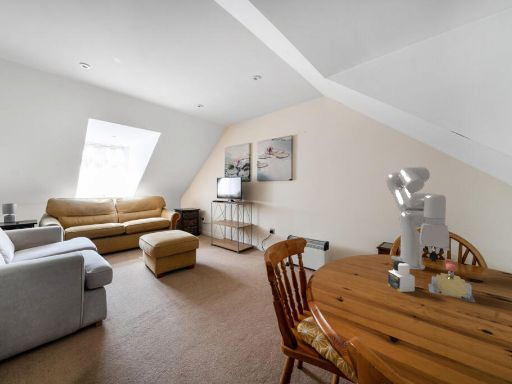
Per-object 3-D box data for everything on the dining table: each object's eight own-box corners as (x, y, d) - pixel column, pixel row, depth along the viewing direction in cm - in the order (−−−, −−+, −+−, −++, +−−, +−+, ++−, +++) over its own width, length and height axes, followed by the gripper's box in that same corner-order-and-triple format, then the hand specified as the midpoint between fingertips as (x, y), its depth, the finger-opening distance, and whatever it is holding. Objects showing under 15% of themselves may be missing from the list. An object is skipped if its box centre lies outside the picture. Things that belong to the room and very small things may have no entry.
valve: (432, 292, 90) (432, 269, 90) (431, 286, 95) (432, 265, 95) (471, 301, 83) (472, 277, 83) (468, 294, 88) (469, 271, 88)
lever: (446, 270, 88) (446, 265, 88) (443, 263, 96) (443, 258, 96) (456, 272, 87) (457, 267, 86) (453, 264, 94) (453, 260, 94)
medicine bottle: (387, 285, 98) (388, 259, 97) (402, 284, 99) (402, 259, 98) (399, 293, 91) (399, 265, 90) (414, 292, 91) (415, 265, 91)
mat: (429, 293, 91) (429, 291, 91) (428, 285, 98) (428, 283, 98) (475, 304, 82) (475, 302, 82) (470, 294, 89) (471, 292, 89)
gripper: (413, 221, 98) (413, 260, 99) (458, 224, 89) (456, 267, 90) (413, 218, 104) (413, 255, 105) (455, 222, 95) (454, 262, 96)
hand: (433, 261), depth 97 cm, fingers closed
